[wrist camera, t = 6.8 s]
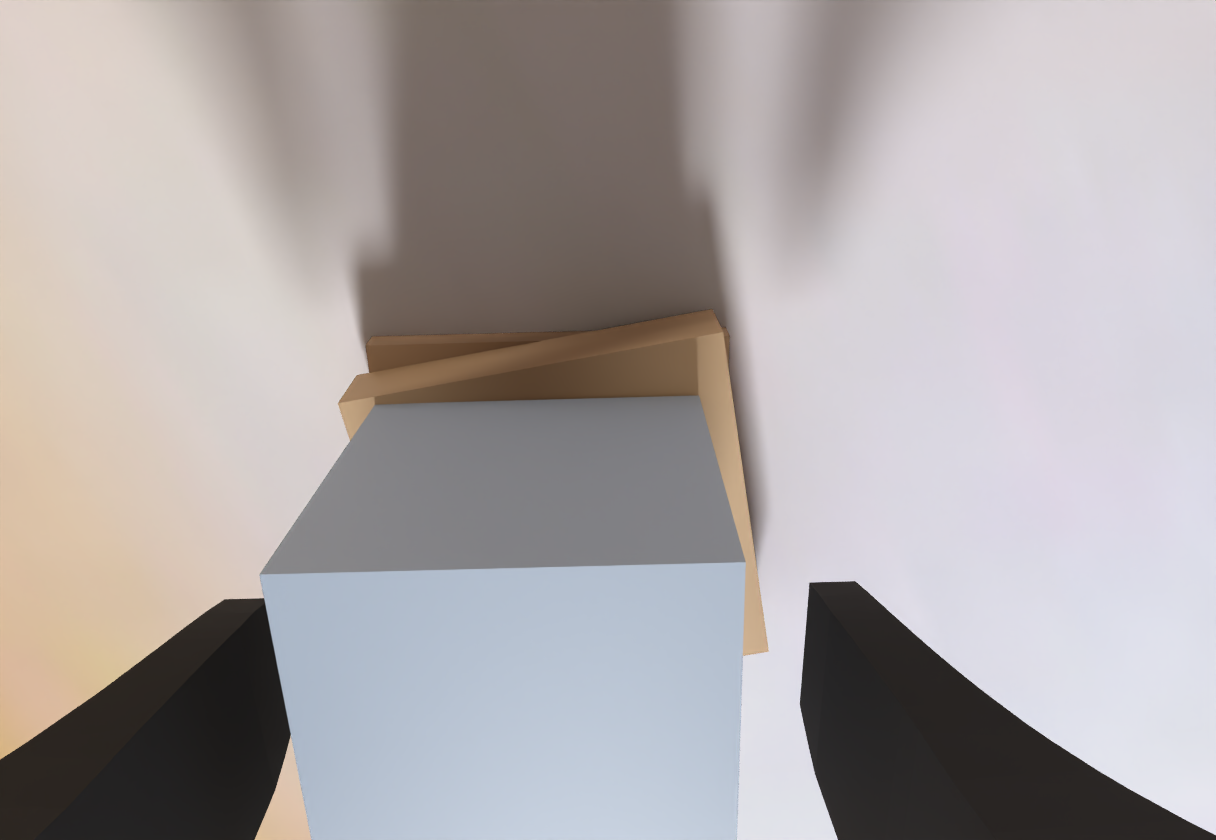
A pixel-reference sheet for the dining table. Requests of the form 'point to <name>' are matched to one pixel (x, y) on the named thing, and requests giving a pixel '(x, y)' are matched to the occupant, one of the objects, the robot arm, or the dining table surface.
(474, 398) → the slab top
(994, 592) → the dining table surface
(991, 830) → the robot arm
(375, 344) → the slab bottom
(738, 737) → the cube
